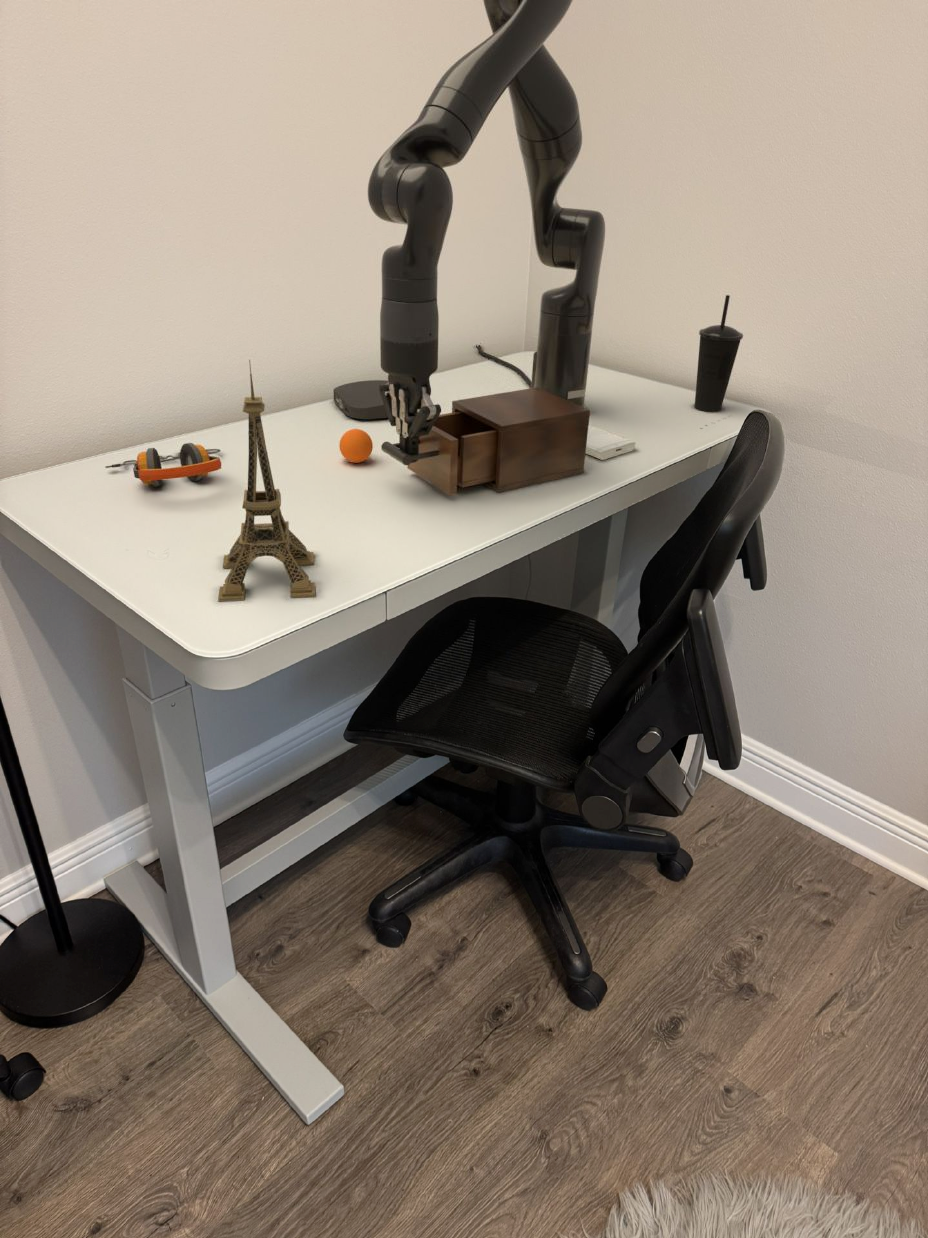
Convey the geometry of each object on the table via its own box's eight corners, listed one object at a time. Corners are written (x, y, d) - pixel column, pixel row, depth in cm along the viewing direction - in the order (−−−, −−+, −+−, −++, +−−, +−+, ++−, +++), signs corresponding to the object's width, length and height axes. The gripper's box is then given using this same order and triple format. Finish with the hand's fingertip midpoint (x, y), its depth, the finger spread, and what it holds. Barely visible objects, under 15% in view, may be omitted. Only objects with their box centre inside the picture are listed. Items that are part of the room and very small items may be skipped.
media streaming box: (432, 415, 156) (432, 398, 155) (351, 423, 151) (351, 405, 150) (404, 391, 168) (404, 375, 166) (328, 398, 163) (327, 381, 161)
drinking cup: (734, 406, 167) (756, 295, 157) (721, 416, 161) (742, 301, 151) (695, 399, 170) (713, 289, 160) (680, 408, 165) (699, 295, 155)
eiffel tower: (313, 554, 109) (301, 346, 96) (315, 596, 100) (302, 373, 87) (224, 557, 107) (200, 346, 94) (218, 601, 98) (190, 374, 85)
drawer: (413, 503, 121) (413, 447, 117) (372, 475, 129) (371, 422, 125) (533, 476, 131) (537, 424, 127) (488, 451, 139) (490, 402, 135)
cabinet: (498, 492, 128) (502, 426, 123) (450, 463, 137) (452, 400, 132) (583, 473, 135) (590, 409, 130) (532, 447, 144) (537, 387, 139)
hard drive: (545, 429, 147) (602, 450, 139) (579, 420, 152) (636, 440, 144) (544, 439, 148) (601, 460, 140) (578, 429, 153) (634, 450, 145)
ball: (334, 459, 137) (333, 427, 134) (363, 453, 139) (362, 422, 137) (349, 469, 133) (348, 437, 131) (378, 463, 136) (378, 432, 133)
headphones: (213, 430, 138) (245, 442, 121) (219, 465, 139) (251, 481, 122) (98, 445, 131) (115, 460, 114) (105, 481, 132) (123, 501, 115)
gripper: (461, 341, 112) (457, 471, 121) (408, 320, 122) (408, 442, 131) (410, 348, 109) (409, 481, 118) (359, 325, 118) (362, 450, 127)
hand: (408, 460), depth 124 cm, fingers closed
